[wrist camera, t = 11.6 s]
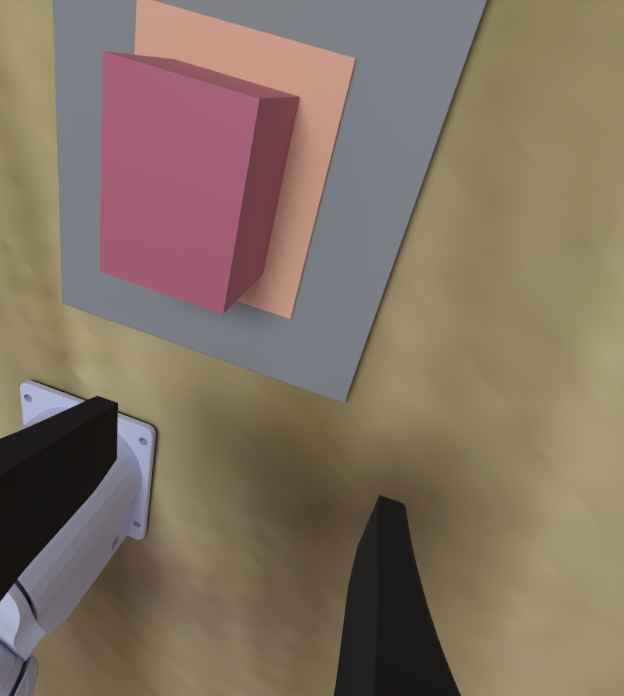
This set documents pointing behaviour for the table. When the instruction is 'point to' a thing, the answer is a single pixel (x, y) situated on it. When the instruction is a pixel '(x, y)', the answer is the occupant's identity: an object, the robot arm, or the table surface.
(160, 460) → the table surface
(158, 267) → the pink rectangular block
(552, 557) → the table surface
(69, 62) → the mat
